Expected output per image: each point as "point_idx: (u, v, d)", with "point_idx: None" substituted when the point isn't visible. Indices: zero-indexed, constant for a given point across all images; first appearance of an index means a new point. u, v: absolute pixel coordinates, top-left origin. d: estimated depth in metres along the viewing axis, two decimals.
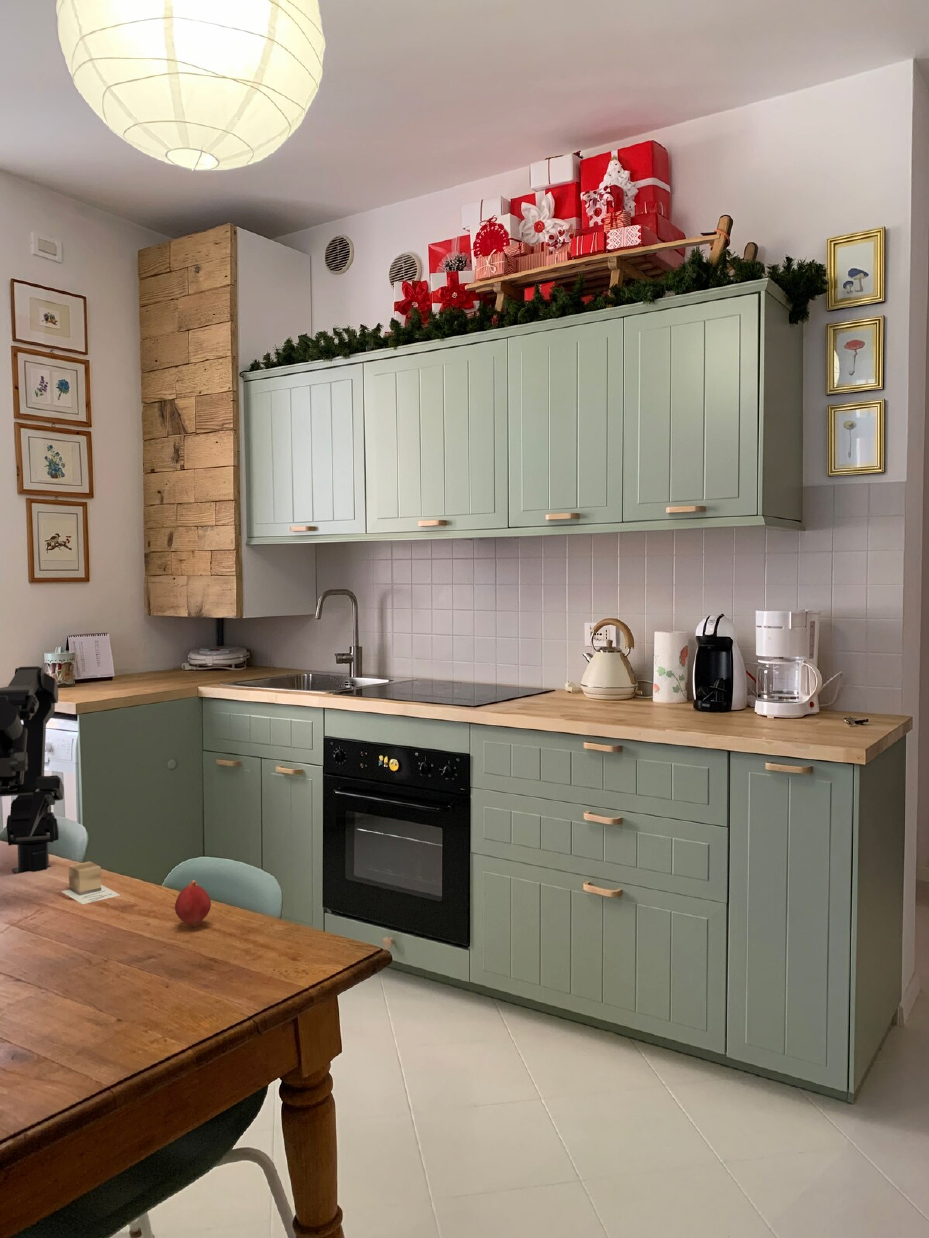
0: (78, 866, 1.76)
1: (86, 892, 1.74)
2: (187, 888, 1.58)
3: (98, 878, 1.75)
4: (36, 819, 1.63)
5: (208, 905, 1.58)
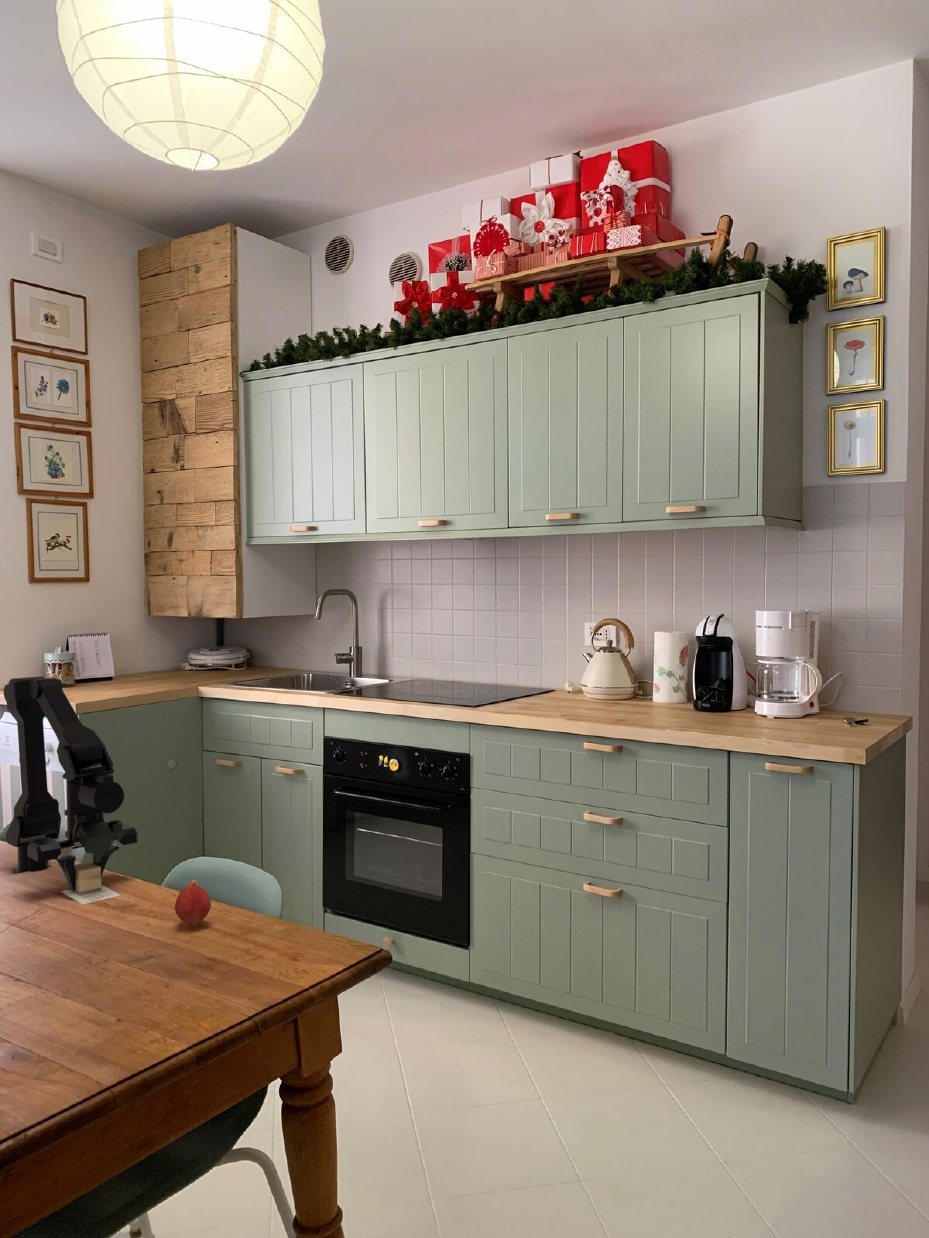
0: (78, 866, 1.76)
1: (86, 892, 1.74)
2: (187, 888, 1.58)
3: (98, 878, 1.75)
4: None
5: (208, 905, 1.58)
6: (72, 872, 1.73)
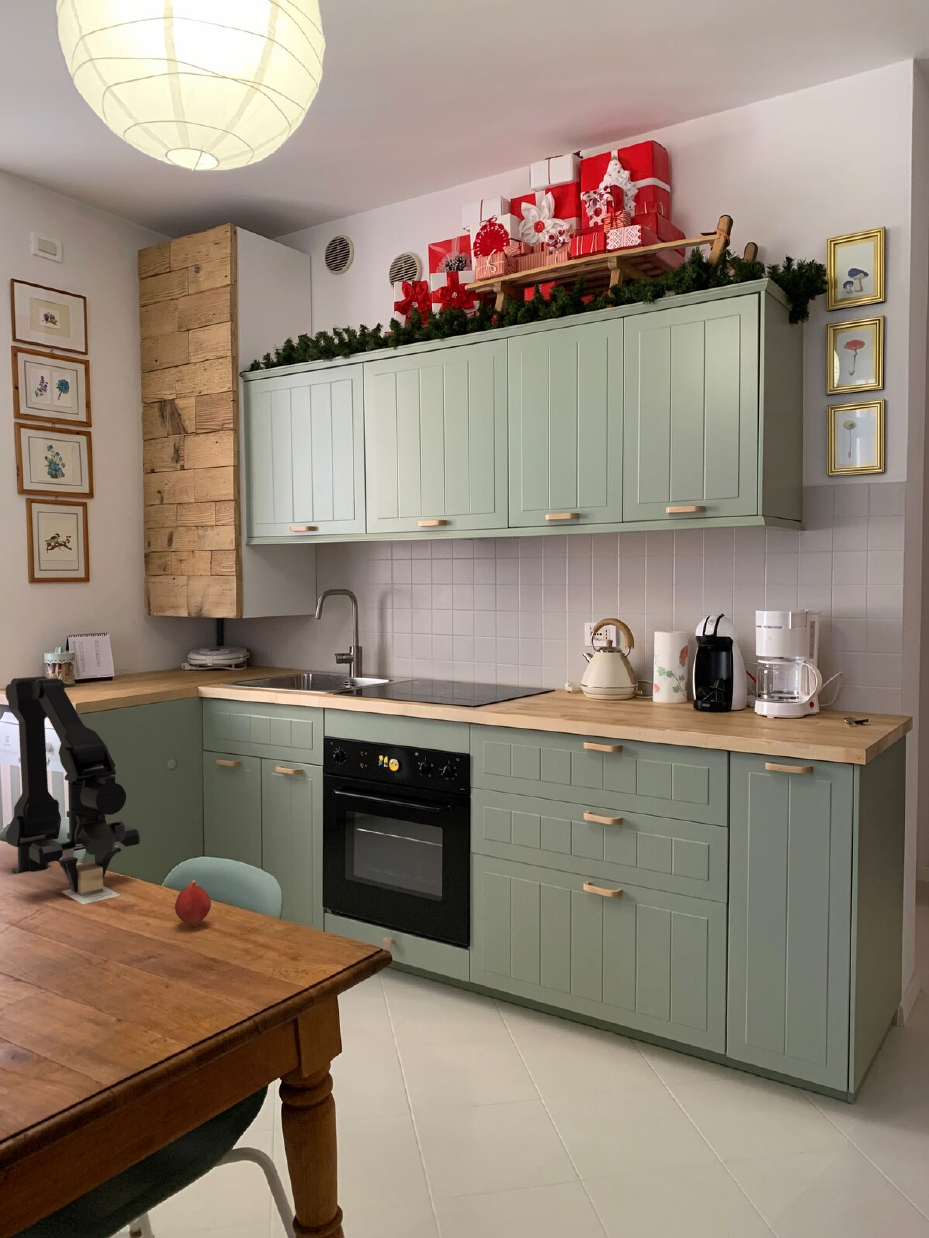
0: (80, 867, 1.75)
1: (88, 893, 1.73)
2: (187, 888, 1.58)
3: (100, 879, 1.75)
4: None
5: (208, 905, 1.58)
6: (74, 874, 1.72)
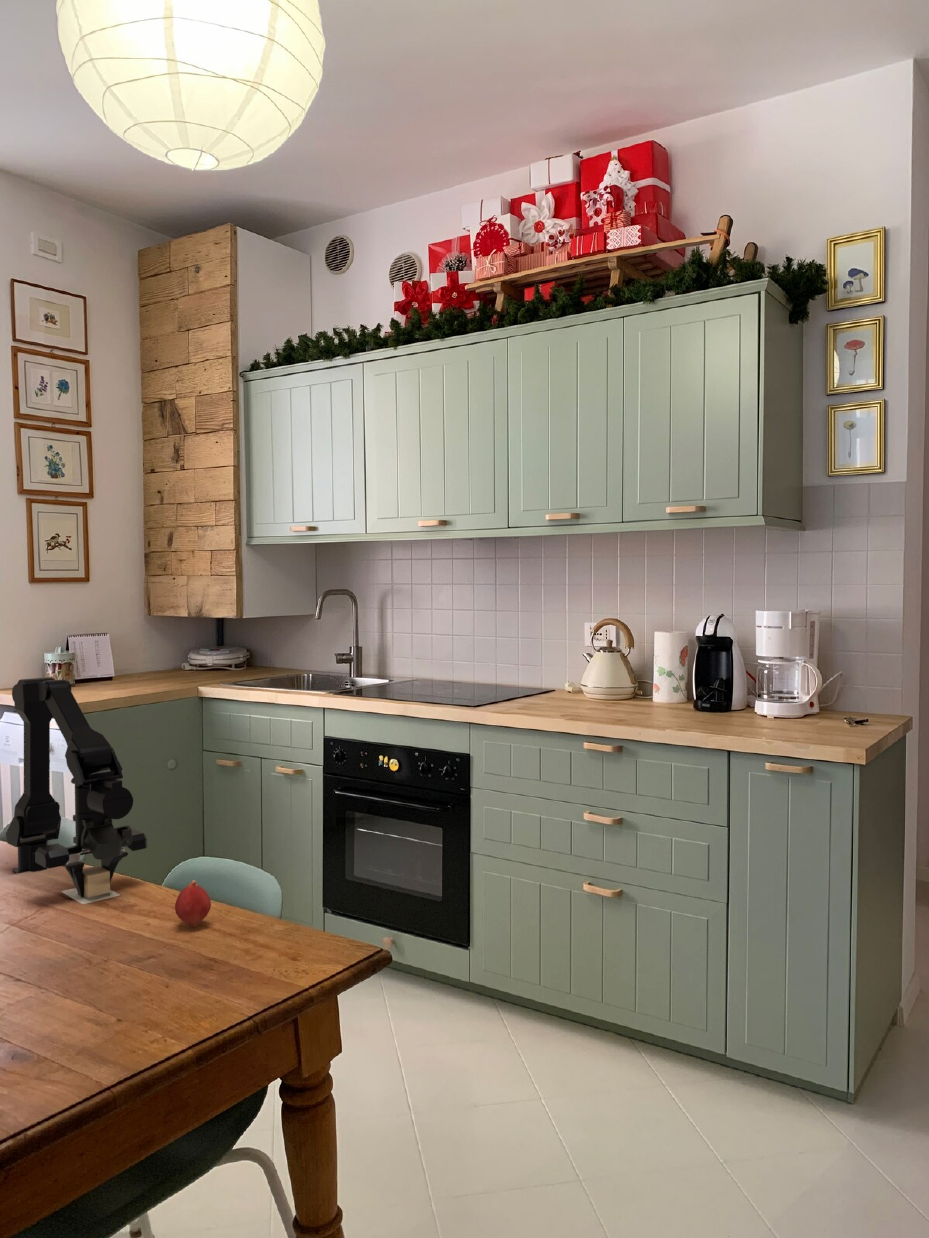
0: (87, 871, 1.73)
1: (95, 897, 1.71)
2: (187, 888, 1.58)
3: (107, 883, 1.72)
4: None
5: (208, 905, 1.58)
6: (80, 878, 1.70)
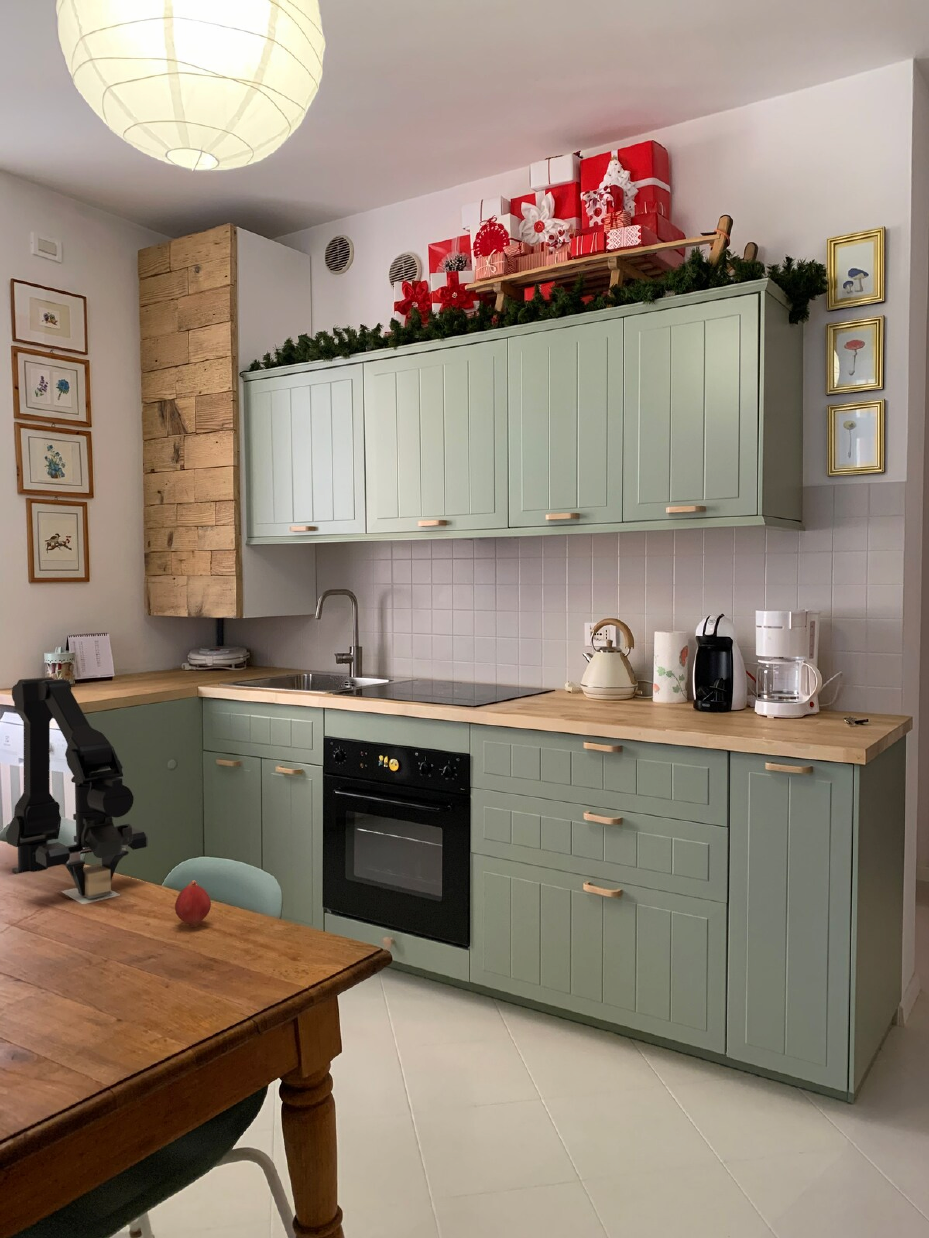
0: (87, 869, 1.73)
1: (96, 895, 1.71)
2: (187, 888, 1.58)
3: (108, 881, 1.72)
4: None
5: (208, 905, 1.58)
6: (81, 877, 1.70)
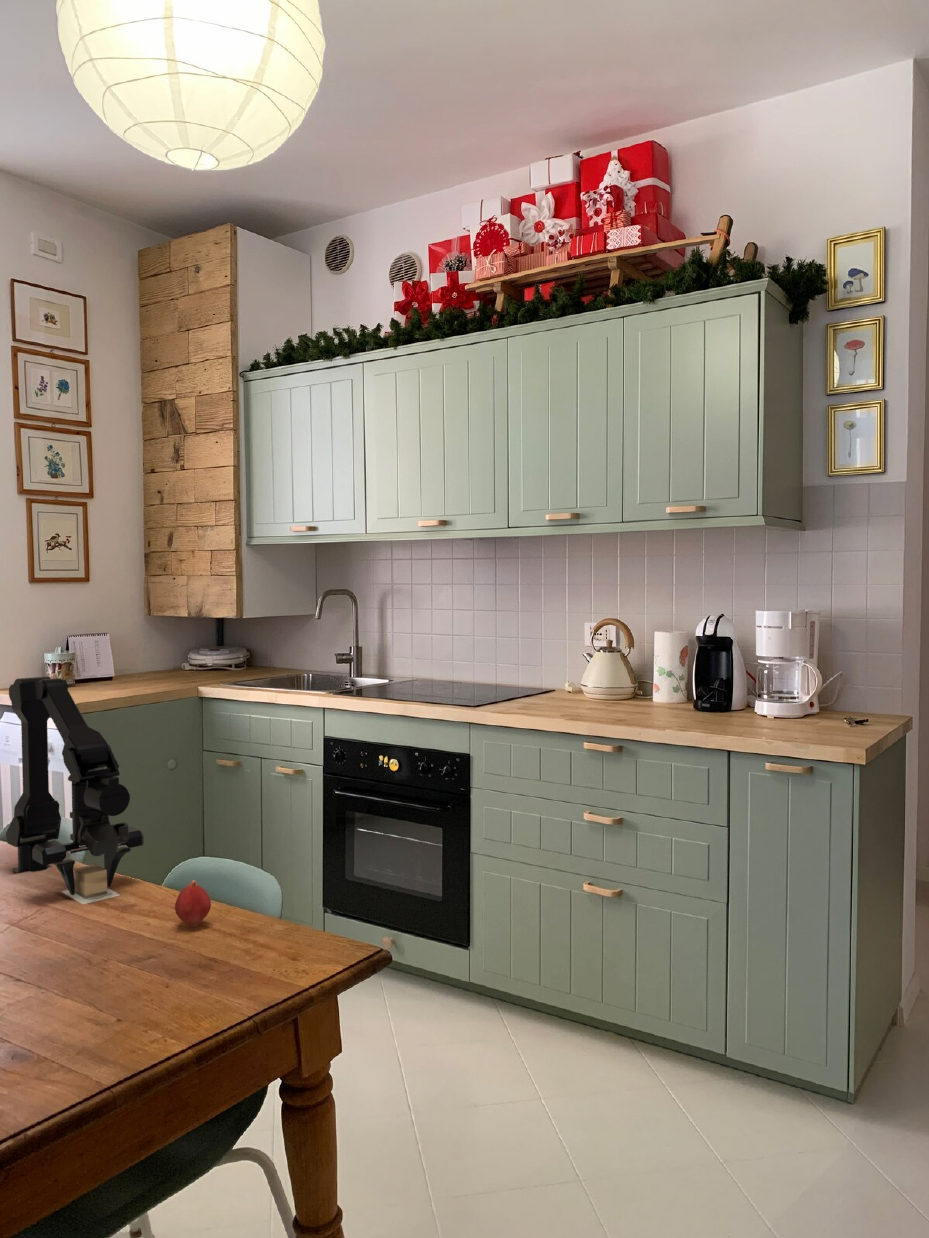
0: (84, 869, 1.74)
1: (92, 895, 1.72)
2: (187, 888, 1.58)
3: (104, 881, 1.73)
4: None
5: (208, 905, 1.58)
6: (71, 877, 1.70)
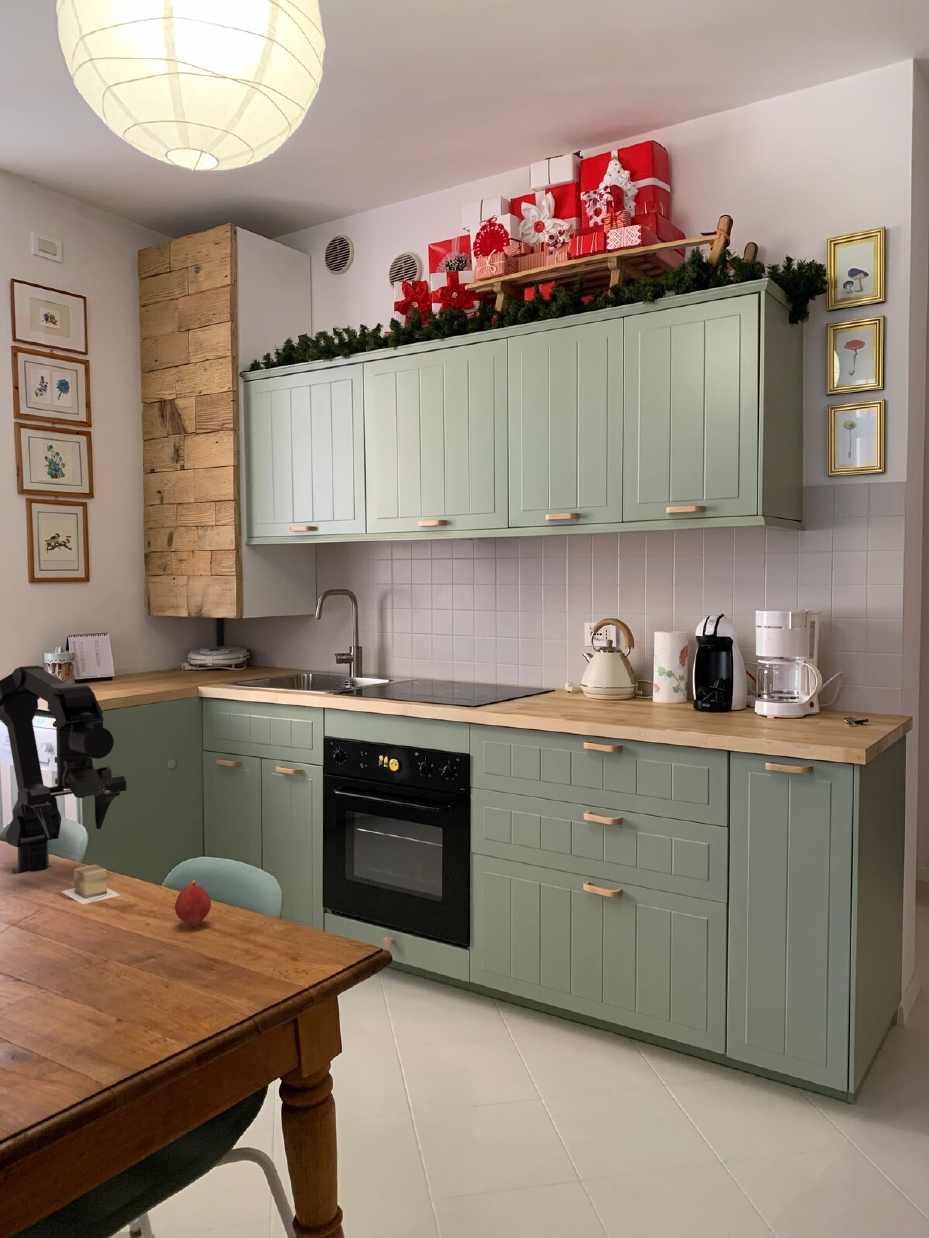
0: (84, 869, 1.74)
1: (92, 895, 1.72)
2: (187, 888, 1.58)
3: (104, 881, 1.73)
4: None
5: (208, 905, 1.58)
6: (48, 820, 1.74)
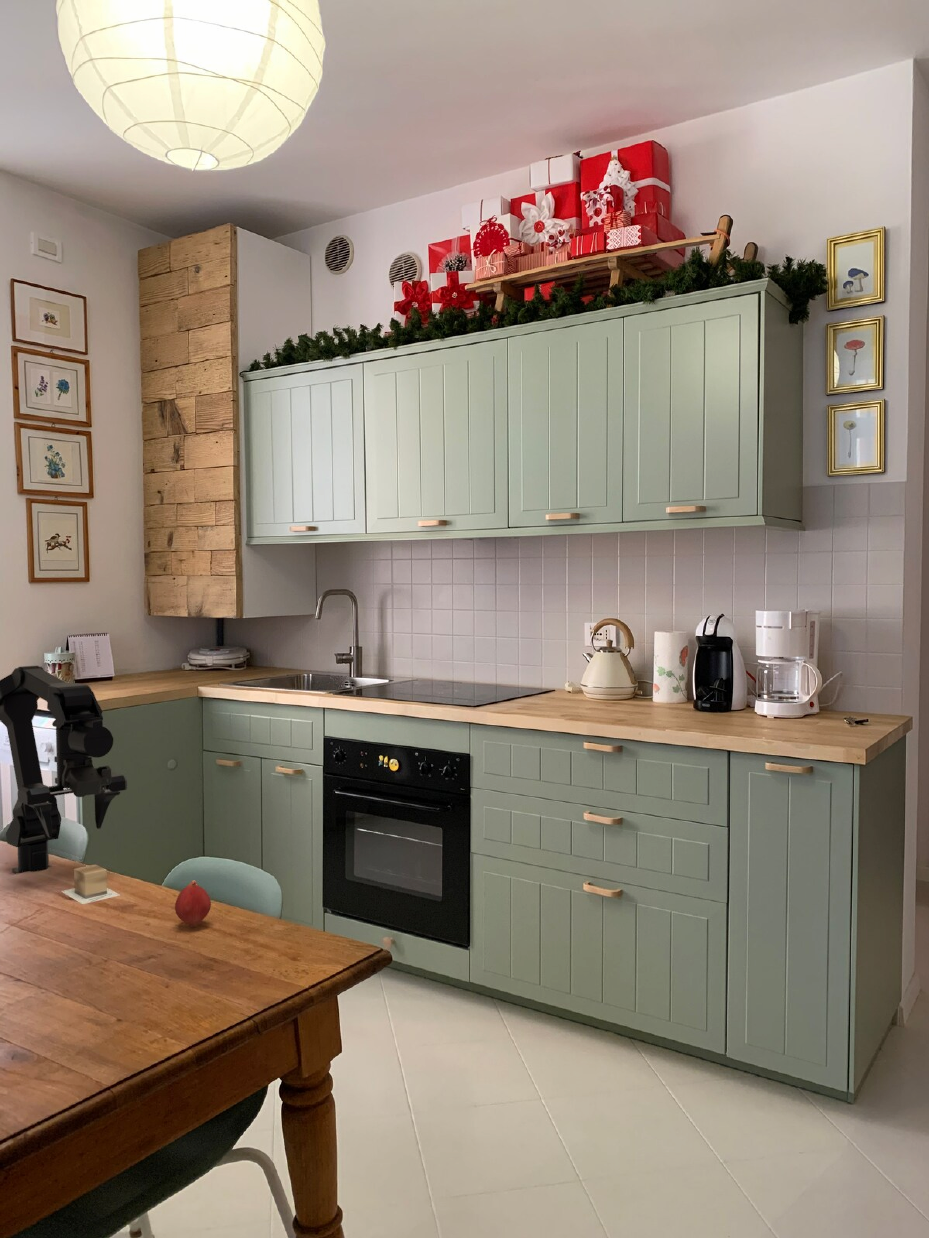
0: (84, 869, 1.74)
1: (92, 895, 1.72)
2: (187, 888, 1.58)
3: (104, 881, 1.73)
4: None
5: (208, 905, 1.58)
6: (48, 819, 1.74)
